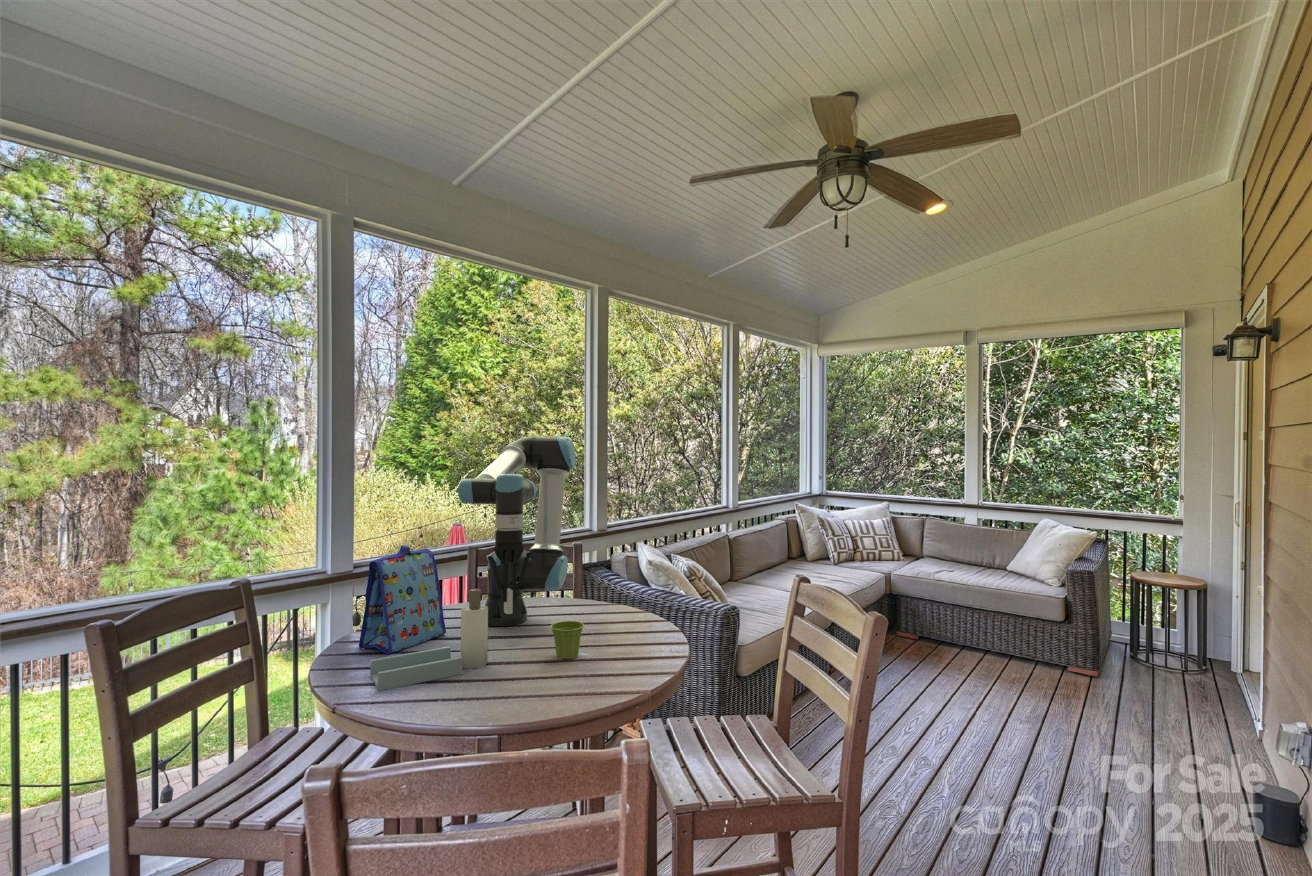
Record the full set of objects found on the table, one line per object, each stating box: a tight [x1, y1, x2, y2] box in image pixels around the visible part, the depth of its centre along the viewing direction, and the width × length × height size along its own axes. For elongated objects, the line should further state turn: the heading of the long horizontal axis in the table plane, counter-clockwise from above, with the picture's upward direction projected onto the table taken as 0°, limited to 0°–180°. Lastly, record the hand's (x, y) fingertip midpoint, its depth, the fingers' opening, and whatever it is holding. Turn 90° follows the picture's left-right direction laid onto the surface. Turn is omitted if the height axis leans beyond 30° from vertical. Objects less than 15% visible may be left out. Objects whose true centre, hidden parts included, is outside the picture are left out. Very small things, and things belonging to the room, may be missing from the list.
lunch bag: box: [358, 544, 447, 655], centre depth 184 cm, size 22×14×29 cm, turn 154°
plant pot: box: [550, 620, 585, 660], centre depth 172 cm, size 9×9×9 cm
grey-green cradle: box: [369, 645, 463, 692], centre depth 157 cm, size 20×11×4 cm, turn 124°
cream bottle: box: [460, 588, 489, 669], centre depth 166 cm, size 7×7×20 cm
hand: (508, 612), depth 171 cm, fingers closed
